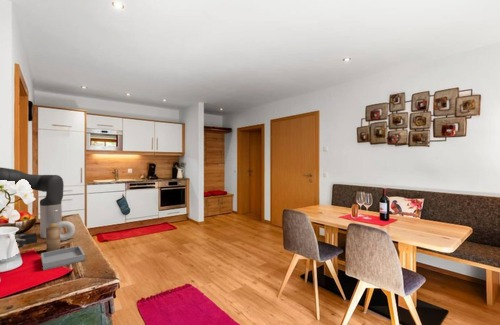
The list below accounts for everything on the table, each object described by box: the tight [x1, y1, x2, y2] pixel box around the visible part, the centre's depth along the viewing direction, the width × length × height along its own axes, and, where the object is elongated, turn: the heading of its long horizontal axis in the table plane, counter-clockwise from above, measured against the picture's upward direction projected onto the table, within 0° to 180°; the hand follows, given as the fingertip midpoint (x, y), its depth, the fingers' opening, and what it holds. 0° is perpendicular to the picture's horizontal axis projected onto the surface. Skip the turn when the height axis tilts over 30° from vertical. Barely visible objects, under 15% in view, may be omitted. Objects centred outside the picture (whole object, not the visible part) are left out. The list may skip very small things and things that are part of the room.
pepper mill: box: [45, 223, 61, 252], centre depth 116 cm, size 5×5×12 cm
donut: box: [57, 220, 76, 242], centre depth 129 cm, size 10×4×10 cm, turn 130°
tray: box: [40, 245, 86, 271], centre depth 104 cm, size 14×13×2 cm
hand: (36, 237), depth 112 cm, fingers open, 8 cm apart
